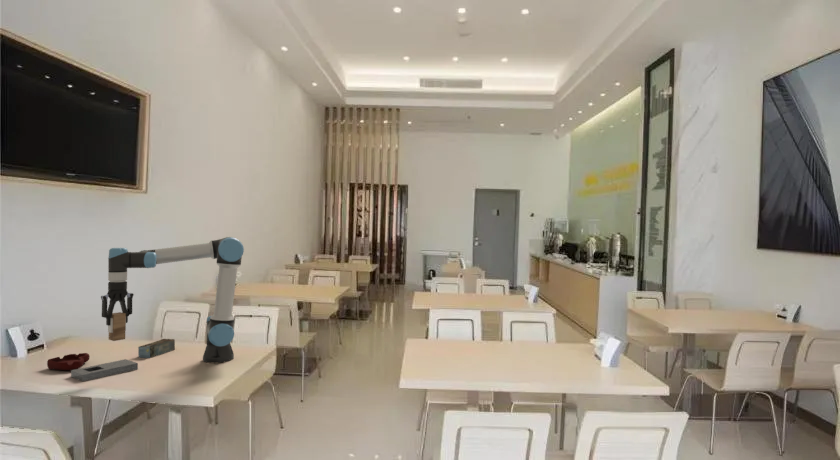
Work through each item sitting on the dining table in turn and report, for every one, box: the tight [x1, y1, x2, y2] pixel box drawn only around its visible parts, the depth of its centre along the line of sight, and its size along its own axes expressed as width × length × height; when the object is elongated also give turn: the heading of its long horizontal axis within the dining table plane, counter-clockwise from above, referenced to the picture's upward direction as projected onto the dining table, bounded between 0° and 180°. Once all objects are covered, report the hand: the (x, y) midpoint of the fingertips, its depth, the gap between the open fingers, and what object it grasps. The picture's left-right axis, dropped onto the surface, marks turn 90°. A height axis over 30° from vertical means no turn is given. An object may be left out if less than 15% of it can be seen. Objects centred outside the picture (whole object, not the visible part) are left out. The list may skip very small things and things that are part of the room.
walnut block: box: [108, 311, 127, 342], centre depth 232 cm, size 5×5×12 cm
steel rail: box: [70, 358, 139, 382], centre depth 238 cm, size 12×24×3 cm, turn 146°
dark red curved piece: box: [46, 352, 90, 371], centre depth 246 cm, size 18×16×5 cm
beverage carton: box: [137, 338, 176, 359], centre depth 275 cm, size 8×19×7 cm, turn 166°
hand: (117, 331), depth 232 cm, fingers closed on walnut block, 5 cm apart
